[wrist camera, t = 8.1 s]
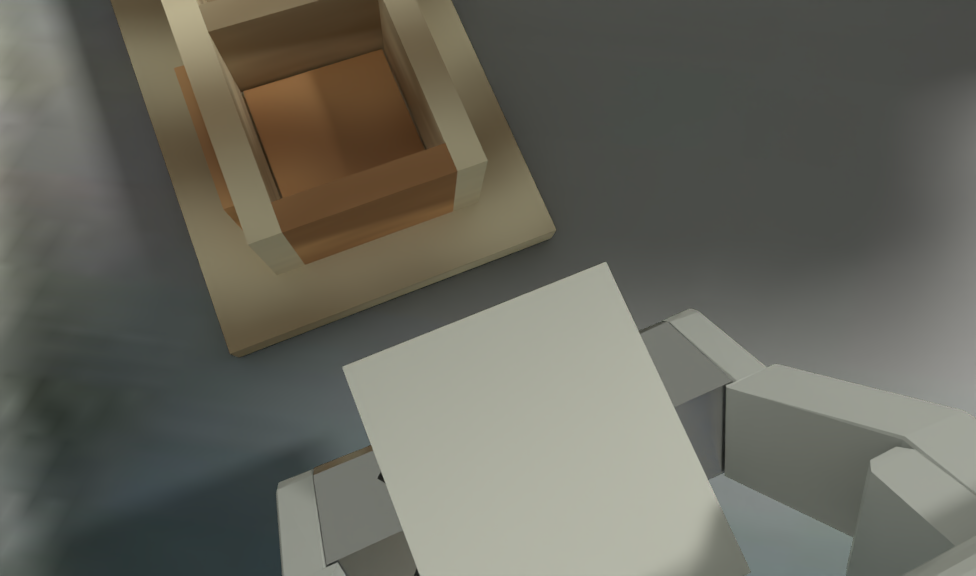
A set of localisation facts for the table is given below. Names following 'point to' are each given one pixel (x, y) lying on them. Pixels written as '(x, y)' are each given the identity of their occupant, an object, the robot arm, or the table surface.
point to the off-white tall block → (541, 444)
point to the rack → (327, 153)
